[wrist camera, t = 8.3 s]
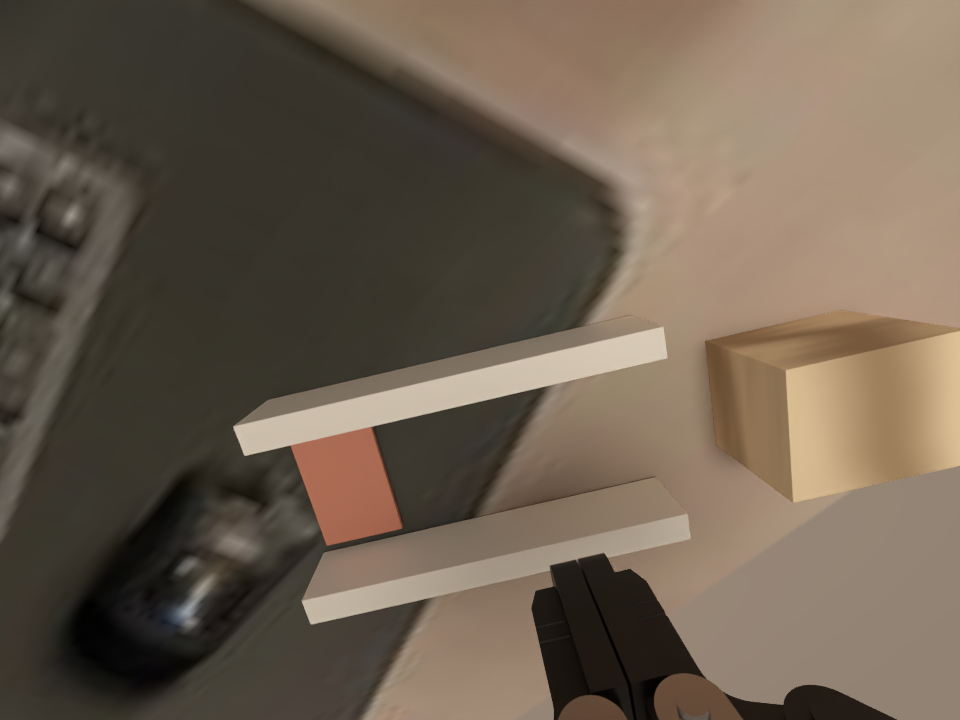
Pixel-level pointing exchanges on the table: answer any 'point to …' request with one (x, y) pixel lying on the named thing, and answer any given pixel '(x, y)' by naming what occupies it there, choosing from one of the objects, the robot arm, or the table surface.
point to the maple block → (837, 401)
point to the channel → (470, 543)
